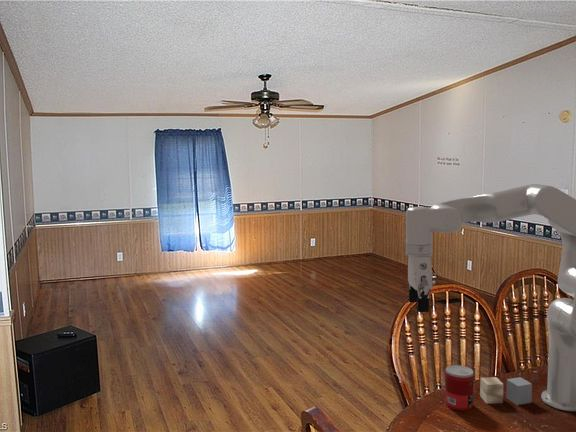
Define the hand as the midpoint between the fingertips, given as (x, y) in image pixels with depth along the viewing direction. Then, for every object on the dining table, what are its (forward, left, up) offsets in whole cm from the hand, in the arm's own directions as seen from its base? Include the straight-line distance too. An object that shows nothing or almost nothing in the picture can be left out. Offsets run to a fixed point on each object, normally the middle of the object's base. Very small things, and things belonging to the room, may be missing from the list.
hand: (418, 306), depth 154 cm
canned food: (-12, 0, -31) cm, 33 cm away
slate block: (-31, -2, -31) cm, 44 cm away
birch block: (-23, -3, -31) cm, 39 cm away
